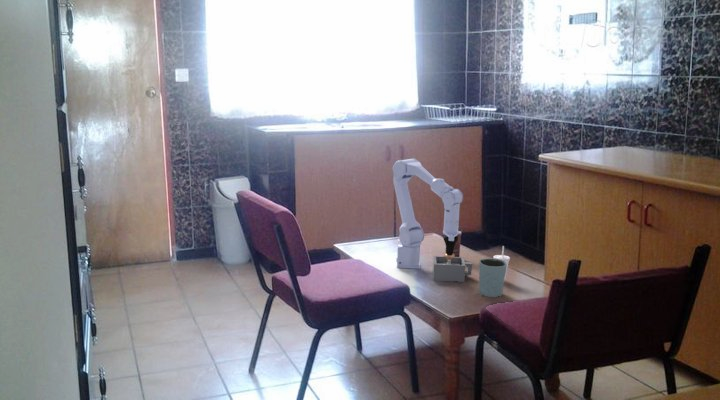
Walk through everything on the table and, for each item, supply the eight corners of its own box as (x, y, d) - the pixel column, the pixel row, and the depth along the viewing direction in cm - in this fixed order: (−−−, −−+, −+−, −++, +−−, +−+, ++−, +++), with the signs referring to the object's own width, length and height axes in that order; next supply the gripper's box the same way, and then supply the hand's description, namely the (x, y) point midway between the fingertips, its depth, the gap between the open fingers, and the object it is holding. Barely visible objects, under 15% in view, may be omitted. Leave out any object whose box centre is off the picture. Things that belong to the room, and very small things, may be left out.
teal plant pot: (485, 287, 276) (487, 256, 274) (509, 293, 270) (512, 262, 268) (471, 293, 268) (473, 262, 266) (496, 300, 262) (498, 267, 260)
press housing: (433, 280, 282) (434, 264, 281) (432, 271, 294) (433, 255, 293) (471, 282, 281) (472, 266, 280) (469, 273, 293) (470, 257, 292)
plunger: (437, 270, 283) (438, 257, 282) (437, 263, 292) (437, 251, 291) (460, 271, 282) (461, 258, 281) (459, 264, 291) (460, 252, 290)
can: (459, 260, 311) (461, 228, 309) (444, 258, 313) (446, 227, 310) (460, 256, 317) (462, 224, 314) (445, 255, 318) (447, 223, 316)
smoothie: (498, 284, 280) (500, 249, 277) (488, 279, 286) (490, 244, 283) (511, 282, 283) (514, 247, 280) (501, 277, 289) (503, 243, 286)
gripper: (462, 225, 276) (460, 259, 279) (460, 216, 290) (458, 249, 293) (444, 224, 276) (442, 259, 279) (442, 216, 291) (441, 249, 293)
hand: (449, 254), depth 286 cm, fingers closed
